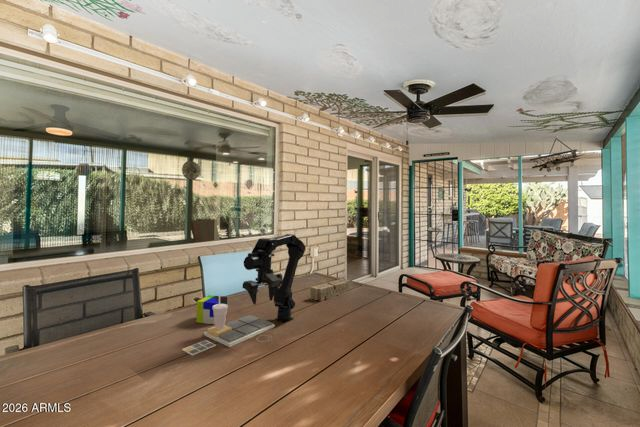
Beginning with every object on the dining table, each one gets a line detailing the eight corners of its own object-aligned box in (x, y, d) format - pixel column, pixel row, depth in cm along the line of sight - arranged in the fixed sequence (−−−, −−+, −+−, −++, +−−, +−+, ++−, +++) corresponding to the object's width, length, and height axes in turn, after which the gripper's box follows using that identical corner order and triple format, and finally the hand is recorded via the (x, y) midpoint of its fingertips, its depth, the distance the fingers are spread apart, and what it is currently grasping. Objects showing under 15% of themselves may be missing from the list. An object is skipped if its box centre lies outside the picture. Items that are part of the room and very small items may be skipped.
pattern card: (205, 340, 120) (205, 339, 120) (216, 345, 116) (216, 344, 116) (182, 349, 112) (182, 348, 112) (192, 355, 108) (192, 354, 108)
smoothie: (219, 324, 130) (220, 292, 130) (230, 327, 128) (231, 295, 127) (208, 329, 125) (209, 296, 124) (219, 332, 122) (220, 299, 122)
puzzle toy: (215, 324, 137) (216, 303, 136) (196, 322, 139) (196, 301, 138) (226, 316, 146) (227, 296, 146) (208, 314, 148) (209, 295, 148)
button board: (249, 318, 146) (249, 313, 145) (274, 326, 136) (274, 322, 136) (203, 335, 125) (204, 330, 125) (229, 347, 115) (229, 342, 115)
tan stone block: (319, 303, 173) (350, 292, 194) (319, 289, 172) (350, 280, 193) (310, 300, 178) (341, 290, 199) (310, 286, 178) (341, 277, 199)
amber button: (221, 328, 131) (221, 323, 131) (231, 333, 127) (232, 328, 127) (207, 334, 125) (207, 329, 125) (217, 338, 121) (217, 333, 121)
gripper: (259, 272, 118) (257, 311, 118) (292, 267, 132) (290, 302, 132) (242, 268, 125) (240, 305, 125) (275, 264, 140) (274, 297, 139)
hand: (262, 302), depth 130 cm, fingers open, 9 cm apart
